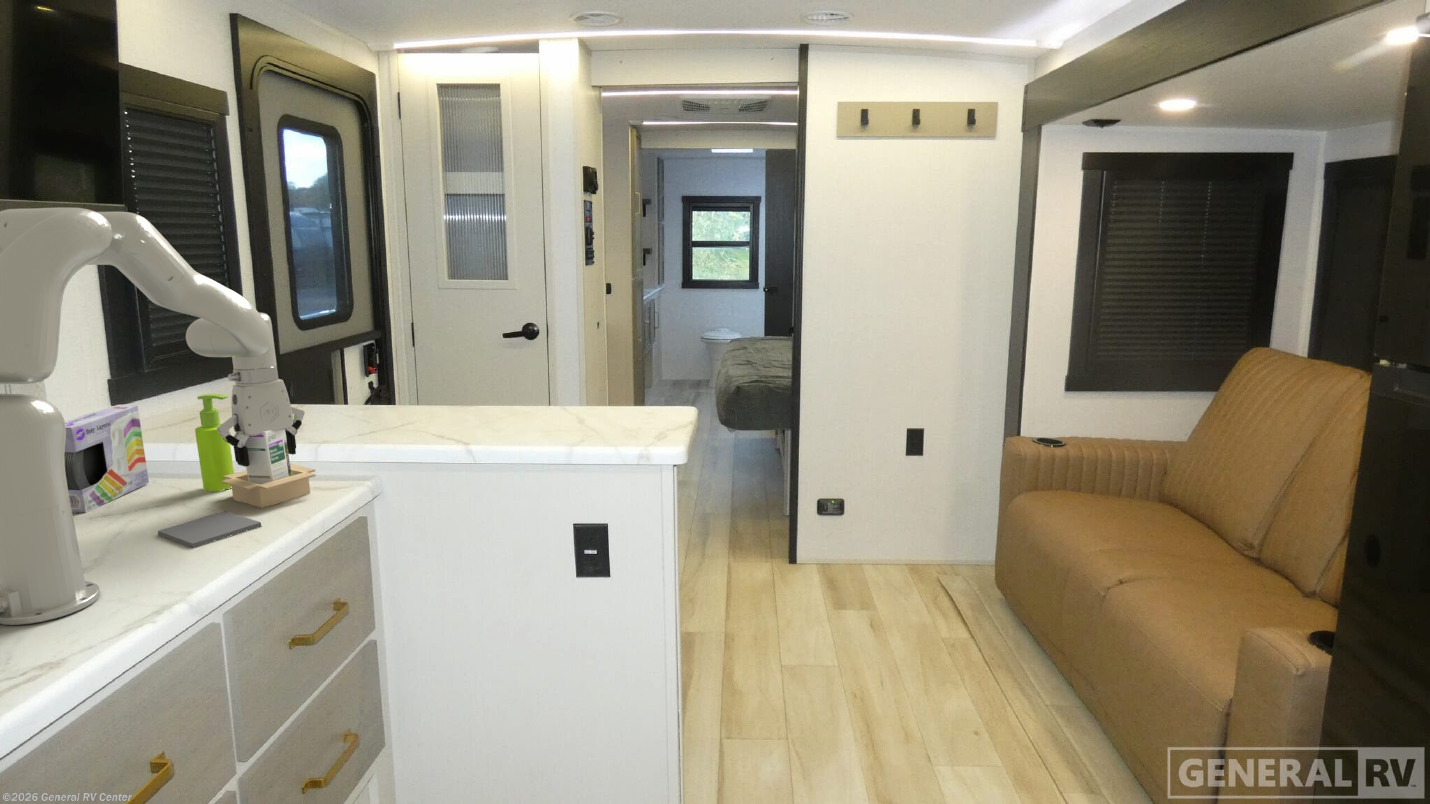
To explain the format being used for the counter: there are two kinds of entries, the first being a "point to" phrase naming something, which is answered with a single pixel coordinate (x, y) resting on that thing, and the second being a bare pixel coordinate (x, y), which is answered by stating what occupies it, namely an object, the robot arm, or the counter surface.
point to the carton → (270, 487)
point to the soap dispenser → (213, 447)
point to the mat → (208, 529)
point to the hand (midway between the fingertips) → (267, 459)
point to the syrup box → (268, 457)
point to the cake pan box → (104, 457)
